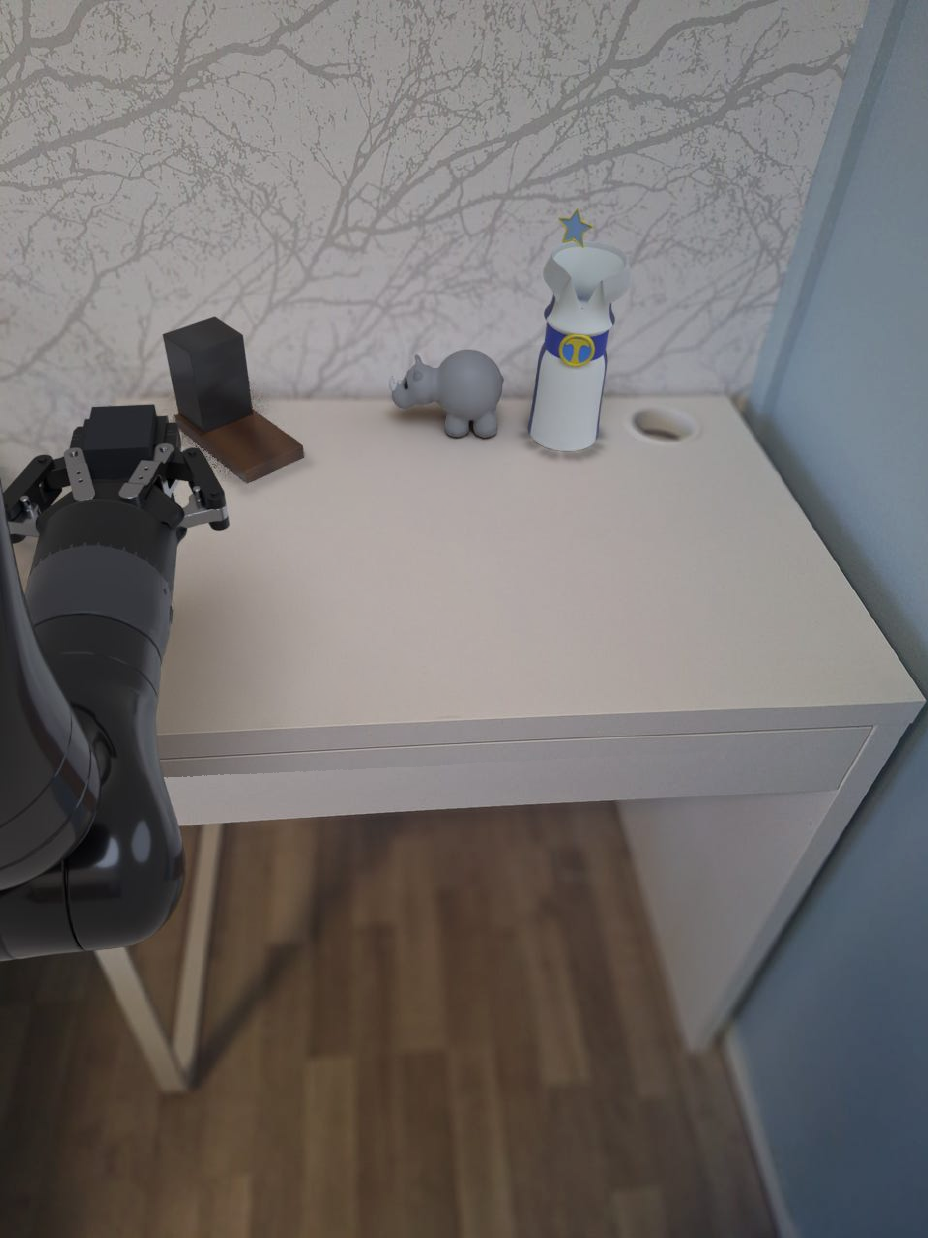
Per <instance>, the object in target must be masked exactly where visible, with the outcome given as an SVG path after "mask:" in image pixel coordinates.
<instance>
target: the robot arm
mask: <svg viewBox="0 0 928 1238" xmlns="http://www.w3.org/2000/svg"><path fill="white" fill-rule="evenodd" d="M169 419H170V418H169V417H168V415H157V420H156V427H155V435H154V442H153V445H154V450H153V451H152V454H151V457H149V458H148V459H147V460H141V462H140V463H139V465H138V466H137V468H136V470H135V471H134V473H133V475H132V476H131V477H127V478H122V479H117V480H110V479H91V476H90V473H89V469H88V465H87V462H86V461H85V459H84V455H83V452H82V448H83V444H84V439H85V435H86V430H87V426H88V422H89V418H84V421H83V425H81V426H77V427H76V428H75V429H73V432H72V436H71V440H70V444H69V448H68V449H66V450H64V451H63V456H61V457H57V458H53V457H52V456H51V455H50V454H39V455H37V456H35V457H33V458H32V459H31V461H30V462H29V463H28V464H27V465H26V466H25V467H24V469H23V470H22V471H21V472H20V473H19V475H17V477H16V478H15V479H14V480H13V481H12V483H10V485H9V486H8V487H7V488H6V489H5V490H4V491H3V485H2V480H1V479H2V478H0V962H7V961H13V960H14V961H15V960H25V959H32V958H39V957H49V956H56V955H57V956H58V955H64V954H65V955H66V954H72V953H80V952H93V951H102V950H111V949H118V948H119V949H120V948H125V947H130V946H134V945H138V944H142V943H143V942H145V941H147V940H149V939H151V938H152V937H154V936H155V935H156V934H157V933H158V932H159V931H161V929H162V928H163V927H164V926H165V925H166V924H167V923H168V922H169V920H170V919H171V917H172V915H173V914H174V913H175V911H176V909H177V908H178V905H179V902H180V900H181V897H182V895H183V892H184V888H185V883H186V877H187V875H186V874H187V873H186V872H187V861H186V851H185V847H184V842H183V837H182V833H181V829H180V826H179V822H178V819H177V816H176V812H175V810H174V806H173V803H172V800H171V796H170V792H169V790H168V787H167V783H166V780H165V777H164V776H165V775H164V772H163V767H162V762H161V758H160V752H159V742H158V741H159V740H158V726H157V725H158V723H157V722H158V708H159V697H160V686H161V677H162V676H161V675H162V666H163V662H164V661H163V660H164V657H165V654H166V652H167V651H166V650H167V646H168V643H169V638H170V631H171V626H172V624H173V619H174V608H173V597H174V587H175V575H176V563H177V553H178V546H179V544H180V542H181V541H182V540H183V539H184V538H185V537H186V535H187V532H188V529H190V528H194V527H198V526H202V525H205V524H208V525H209V527H210V529H211V530H213V531H216V532H222V531H226V530H227V529H229V527H230V525H231V522H230V517H229V510H228V503H227V497H226V492H225V490H224V488H223V486H222V484H221V483H220V481H219V480H218V478H217V476H216V473H215V472H214V470H213V469H212V467H211V465H210V463H209V461H208V459H207V458H206V456H205V454H204V452H203V451H202V449H201V448H199V447H188V448H185V449H184V450H183V451H182V440H181V434H180V429H178V426H177V424H176V422H175V421H174V422H173V421H170V420H169ZM180 481H182V482H187V483H188V487H189V488H190V491H191V492H192V494H190V495H189V496H188V504H187V505H185V506H183V507H182V506H181V505H180V504H179V503H178V502H177V501H176V500H175V501H174V500H173V499H172V498H171V495H172V493H173V494H174V491H175V489H176V487H177V485H178V484H179V482H180ZM67 487H71V488H70V489H71V490H70V492H68V493H67V494H65V495H64V496H62V497H61V498H59V499H58V497H60V495H61V494H62V493H63V488H67ZM57 499H58V500H57ZM56 500H57V501H56ZM26 537H33V538H37V543H36V547H35V551H34V554H33V558H32V562H31V566H30V569H29V574H28V578H27V581H26V585H25V586H26V587H25V590H24V588H23V586H22V585H23V584H22V581H21V577H20V571H19V568H18V563H17V562H18V561H17V558H16V553H15V552H16V551H15V548H14V544H20V543H21V542H23V541H24V540H25V539H26Z"/></svg>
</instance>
